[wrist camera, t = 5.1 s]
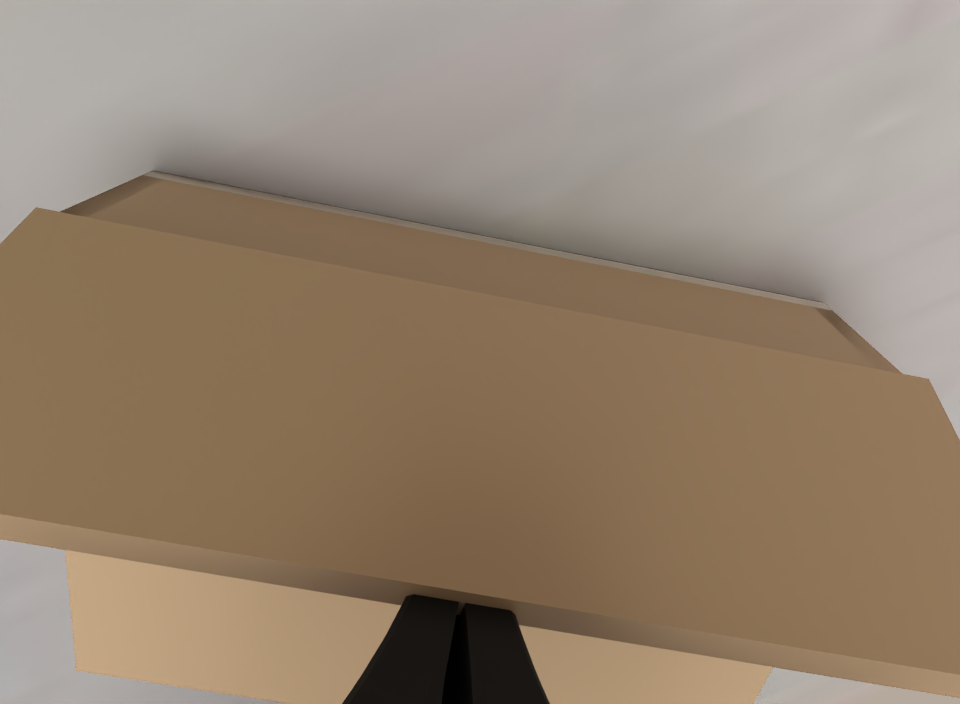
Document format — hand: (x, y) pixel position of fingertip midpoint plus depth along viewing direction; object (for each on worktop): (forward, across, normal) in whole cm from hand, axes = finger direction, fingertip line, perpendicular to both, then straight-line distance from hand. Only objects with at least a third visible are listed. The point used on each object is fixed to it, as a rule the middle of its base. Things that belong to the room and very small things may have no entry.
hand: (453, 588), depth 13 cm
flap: (+2, 0, -2) cm, 3 cm away
